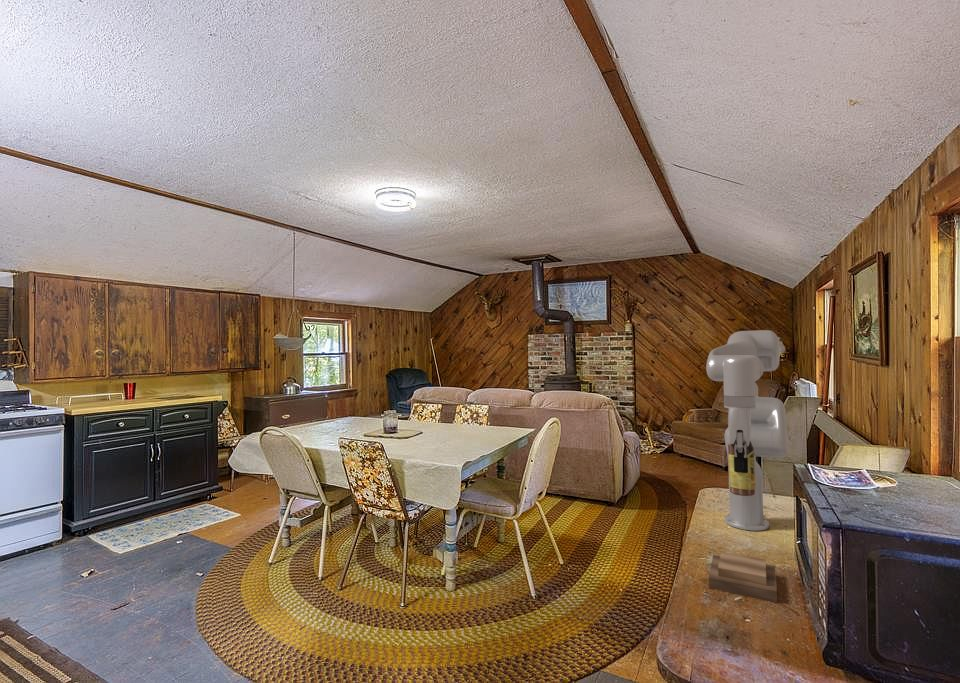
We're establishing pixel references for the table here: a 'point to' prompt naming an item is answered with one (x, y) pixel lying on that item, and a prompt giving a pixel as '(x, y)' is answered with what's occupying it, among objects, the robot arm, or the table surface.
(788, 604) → the table surface
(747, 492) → the sauce bottle
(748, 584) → the pedestal
